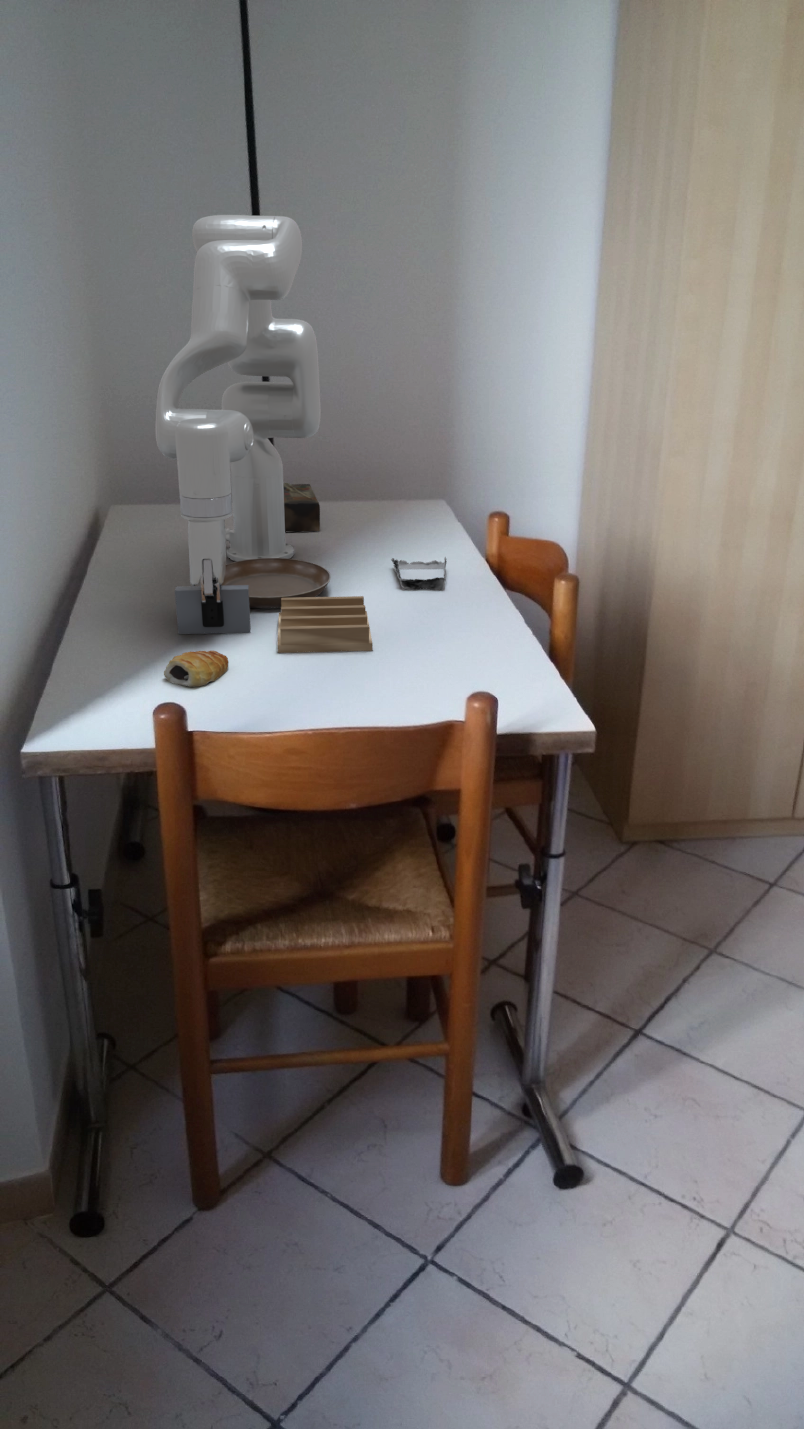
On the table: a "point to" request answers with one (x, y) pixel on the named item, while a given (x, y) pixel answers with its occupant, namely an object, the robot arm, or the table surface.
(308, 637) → the board rack
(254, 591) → the plant saucer
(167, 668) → the pastry
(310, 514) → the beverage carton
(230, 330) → the robot arm
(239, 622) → the slate board
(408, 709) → the table surface
